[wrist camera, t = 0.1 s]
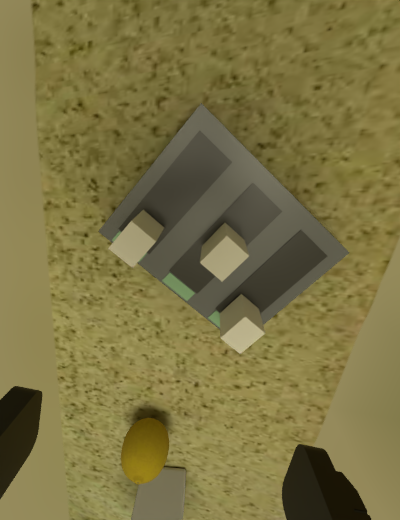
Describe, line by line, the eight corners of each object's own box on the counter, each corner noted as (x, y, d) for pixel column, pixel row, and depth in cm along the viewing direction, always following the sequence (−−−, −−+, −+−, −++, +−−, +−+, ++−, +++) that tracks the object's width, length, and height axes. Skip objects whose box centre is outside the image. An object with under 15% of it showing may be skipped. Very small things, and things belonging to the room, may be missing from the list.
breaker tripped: (225, 222, 26) (226, 235, 22) (244, 240, 27) (249, 256, 23) (201, 246, 27) (199, 262, 23) (221, 262, 28) (222, 281, 24)
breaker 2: (241, 293, 29) (245, 316, 25) (258, 308, 29) (265, 333, 25) (219, 313, 30) (220, 338, 26) (237, 327, 30) (240, 353, 26)
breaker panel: (202, 107, 26) (201, 103, 23) (336, 242, 30) (349, 253, 27) (109, 223, 30) (98, 231, 27) (237, 328, 34) (239, 345, 31)
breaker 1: (143, 209, 26) (131, 220, 22) (164, 227, 27) (156, 241, 23) (122, 233, 27) (108, 248, 23) (143, 250, 27) (132, 268, 24)
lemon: (128, 428, 41) (108, 492, 33) (136, 399, 39) (117, 460, 31) (167, 438, 41) (156, 503, 34) (177, 409, 39) (168, 472, 32)
